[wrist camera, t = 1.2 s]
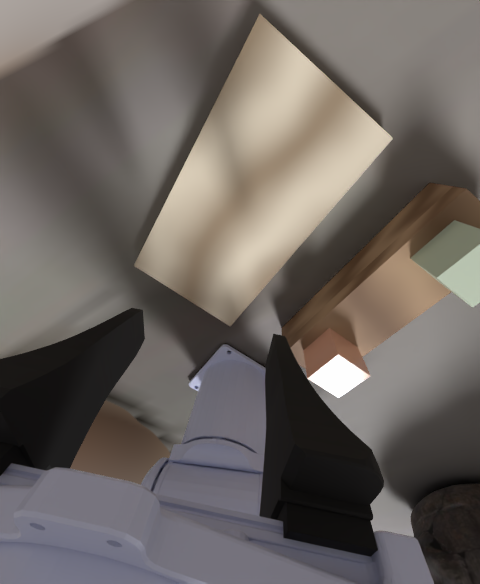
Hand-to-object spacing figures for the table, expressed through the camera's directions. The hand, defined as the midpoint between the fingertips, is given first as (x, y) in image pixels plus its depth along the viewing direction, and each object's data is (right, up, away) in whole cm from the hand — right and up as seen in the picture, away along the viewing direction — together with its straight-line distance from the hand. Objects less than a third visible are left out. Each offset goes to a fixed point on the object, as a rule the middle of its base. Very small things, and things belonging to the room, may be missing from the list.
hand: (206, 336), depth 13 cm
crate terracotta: (+9, -2, +7) cm, 12 cm away
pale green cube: (+15, +5, +2) cm, 16 cm away
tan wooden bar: (+13, +3, +8) cm, 15 cm away
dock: (+2, +9, +6) cm, 11 cm away
